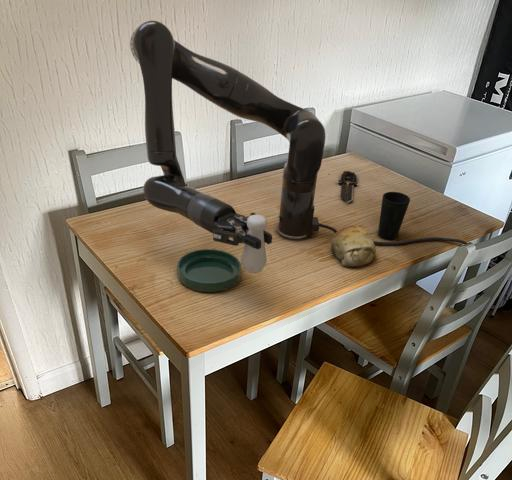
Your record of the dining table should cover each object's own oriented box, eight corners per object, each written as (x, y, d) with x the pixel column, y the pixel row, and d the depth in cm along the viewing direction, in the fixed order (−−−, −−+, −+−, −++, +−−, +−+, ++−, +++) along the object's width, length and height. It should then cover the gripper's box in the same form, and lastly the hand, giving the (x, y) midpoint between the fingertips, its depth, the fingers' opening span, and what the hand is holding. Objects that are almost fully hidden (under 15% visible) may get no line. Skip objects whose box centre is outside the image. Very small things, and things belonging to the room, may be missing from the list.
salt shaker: (262, 277, 121) (267, 225, 113) (238, 273, 122) (241, 221, 113) (267, 264, 125) (272, 213, 117) (243, 260, 126) (247, 209, 118)
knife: (351, 205, 173) (351, 201, 172) (331, 202, 174) (331, 198, 173) (359, 176, 192) (360, 172, 191) (341, 173, 193) (342, 169, 192)
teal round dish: (240, 259, 143) (240, 249, 141) (241, 294, 131) (242, 283, 129) (179, 258, 142) (179, 248, 140) (175, 292, 130) (175, 282, 128)
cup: (384, 226, 163) (393, 189, 155) (405, 236, 159) (415, 198, 151) (369, 234, 159) (377, 196, 151) (390, 244, 155) (400, 206, 147)
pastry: (340, 238, 156) (345, 213, 150) (381, 251, 151) (387, 225, 146) (320, 259, 146) (324, 232, 141) (363, 273, 142) (369, 247, 136)
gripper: (188, 207, 119) (244, 237, 110) (232, 190, 127) (288, 217, 119) (188, 237, 123) (242, 268, 115) (231, 219, 132) (284, 246, 123)
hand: (265, 242), depth 117 cm, fingers closed on salt shaker, 3 cm apart
